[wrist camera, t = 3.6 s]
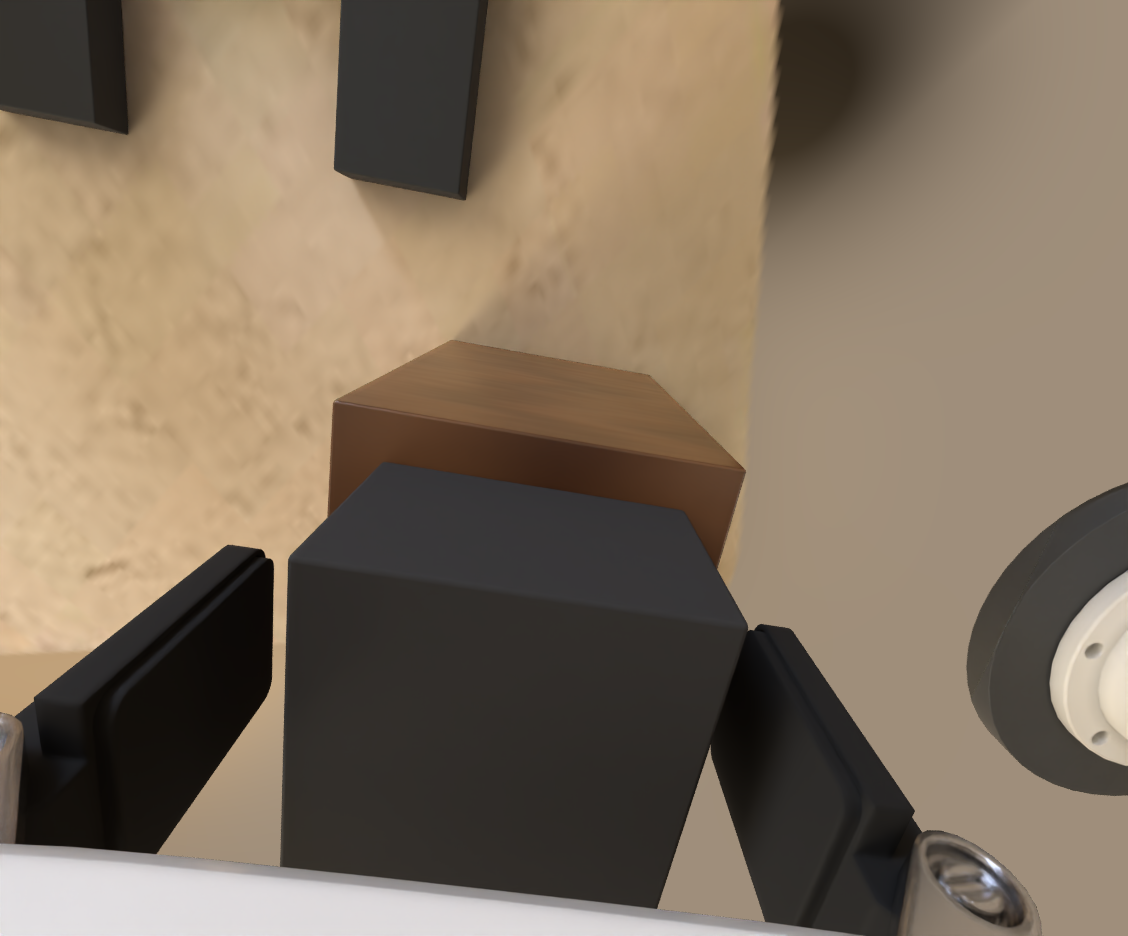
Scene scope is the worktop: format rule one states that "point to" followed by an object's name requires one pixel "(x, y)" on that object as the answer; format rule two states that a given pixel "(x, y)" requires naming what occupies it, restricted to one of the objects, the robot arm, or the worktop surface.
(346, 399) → the brown wooden block
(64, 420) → the worktop surface
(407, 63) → the black u-shaped block
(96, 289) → the worktop surface
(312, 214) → the worktop surface
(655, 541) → the black squat block
